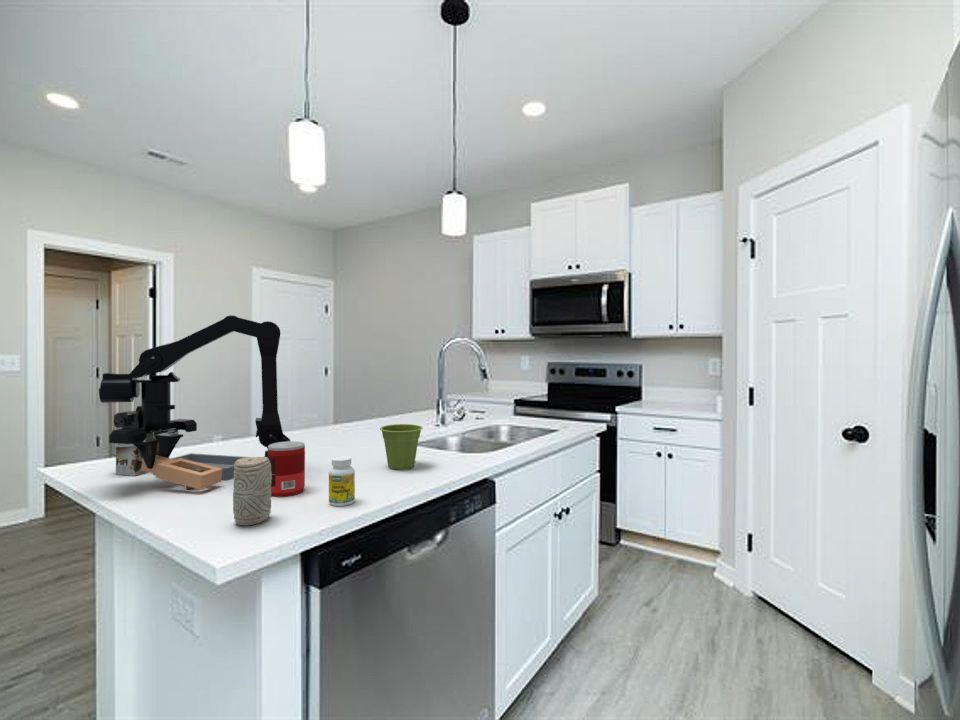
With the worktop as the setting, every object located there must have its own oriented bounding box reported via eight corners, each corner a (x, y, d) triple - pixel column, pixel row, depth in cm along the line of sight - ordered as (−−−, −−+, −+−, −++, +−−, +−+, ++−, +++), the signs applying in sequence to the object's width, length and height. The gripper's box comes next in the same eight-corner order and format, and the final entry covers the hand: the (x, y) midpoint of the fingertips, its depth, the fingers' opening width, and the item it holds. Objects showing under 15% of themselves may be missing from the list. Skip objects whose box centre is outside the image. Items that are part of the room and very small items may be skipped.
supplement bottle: (355, 498, 104) (355, 455, 104) (354, 506, 99) (354, 460, 99) (329, 499, 103) (329, 456, 103) (327, 507, 98) (327, 461, 98)
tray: (259, 468, 129) (259, 457, 129) (227, 480, 117) (227, 468, 117) (190, 463, 134) (190, 453, 134) (153, 474, 122) (153, 463, 122)
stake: (204, 488, 110) (204, 468, 110) (197, 490, 109) (197, 470, 108) (189, 486, 111) (189, 467, 111) (183, 489, 109) (183, 469, 109)
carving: (225, 528, 86) (225, 463, 86) (245, 514, 93) (245, 454, 93) (259, 529, 86) (260, 463, 86) (277, 514, 93) (277, 454, 93)
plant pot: (370, 468, 131) (370, 427, 130) (400, 460, 140) (401, 422, 140) (401, 475, 124) (401, 432, 124) (431, 466, 134) (431, 426, 133)
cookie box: (135, 476, 120) (135, 413, 120) (114, 474, 121) (114, 412, 121) (166, 467, 129) (165, 409, 129) (146, 466, 130) (146, 408, 130)
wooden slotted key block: (220, 481, 112) (222, 468, 112) (199, 489, 106) (201, 475, 106) (158, 465, 116) (160, 452, 115) (134, 471, 109) (136, 458, 109)
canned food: (311, 489, 111) (311, 442, 111) (287, 499, 103) (287, 449, 103) (285, 485, 113) (285, 440, 113) (259, 495, 106) (260, 446, 106)
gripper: (161, 396, 122) (161, 456, 123) (88, 404, 104) (89, 474, 104) (198, 397, 120) (198, 458, 120) (130, 406, 102) (130, 478, 102)
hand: (156, 466), depth 112 cm, fingers closed on wooden slotted key block, 3 cm apart
